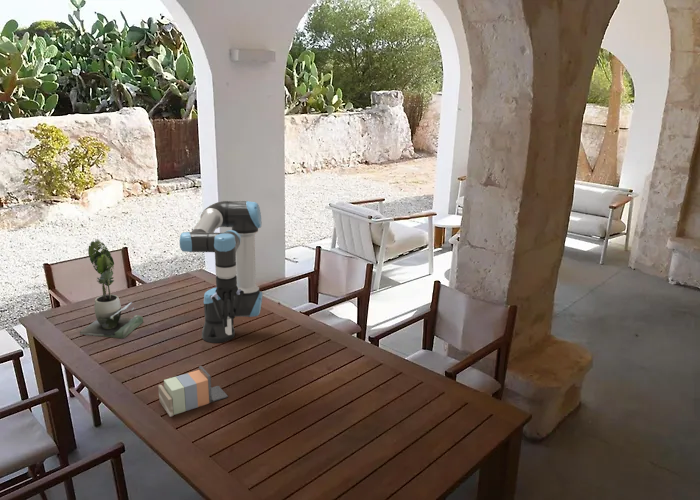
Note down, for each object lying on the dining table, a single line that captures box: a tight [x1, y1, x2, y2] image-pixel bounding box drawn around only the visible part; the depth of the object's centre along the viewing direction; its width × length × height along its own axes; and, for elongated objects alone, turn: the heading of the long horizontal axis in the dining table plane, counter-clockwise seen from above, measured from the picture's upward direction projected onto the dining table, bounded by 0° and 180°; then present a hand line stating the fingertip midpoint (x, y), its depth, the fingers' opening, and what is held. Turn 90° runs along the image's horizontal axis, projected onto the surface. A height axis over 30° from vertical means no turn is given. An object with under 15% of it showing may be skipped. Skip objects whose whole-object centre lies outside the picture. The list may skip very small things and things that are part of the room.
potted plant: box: [79, 238, 144, 340], centre depth 269 cm, size 22×19×45 cm
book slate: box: [175, 372, 199, 412], centre depth 215 cm, size 4×9×10 cm, turn 36°
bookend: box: [198, 365, 229, 404], centre depth 220 cm, size 8×9×11 cm
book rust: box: [187, 369, 210, 408], centre depth 217 cm, size 4×9×10 cm, turn 36°
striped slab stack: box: [157, 384, 174, 417], centre depth 216 cm, size 18×12×7 cm, turn 126°
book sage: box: [163, 376, 186, 416], centre depth 212 cm, size 4×9×10 cm, turn 36°
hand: (228, 333), depth 219 cm, fingers closed
